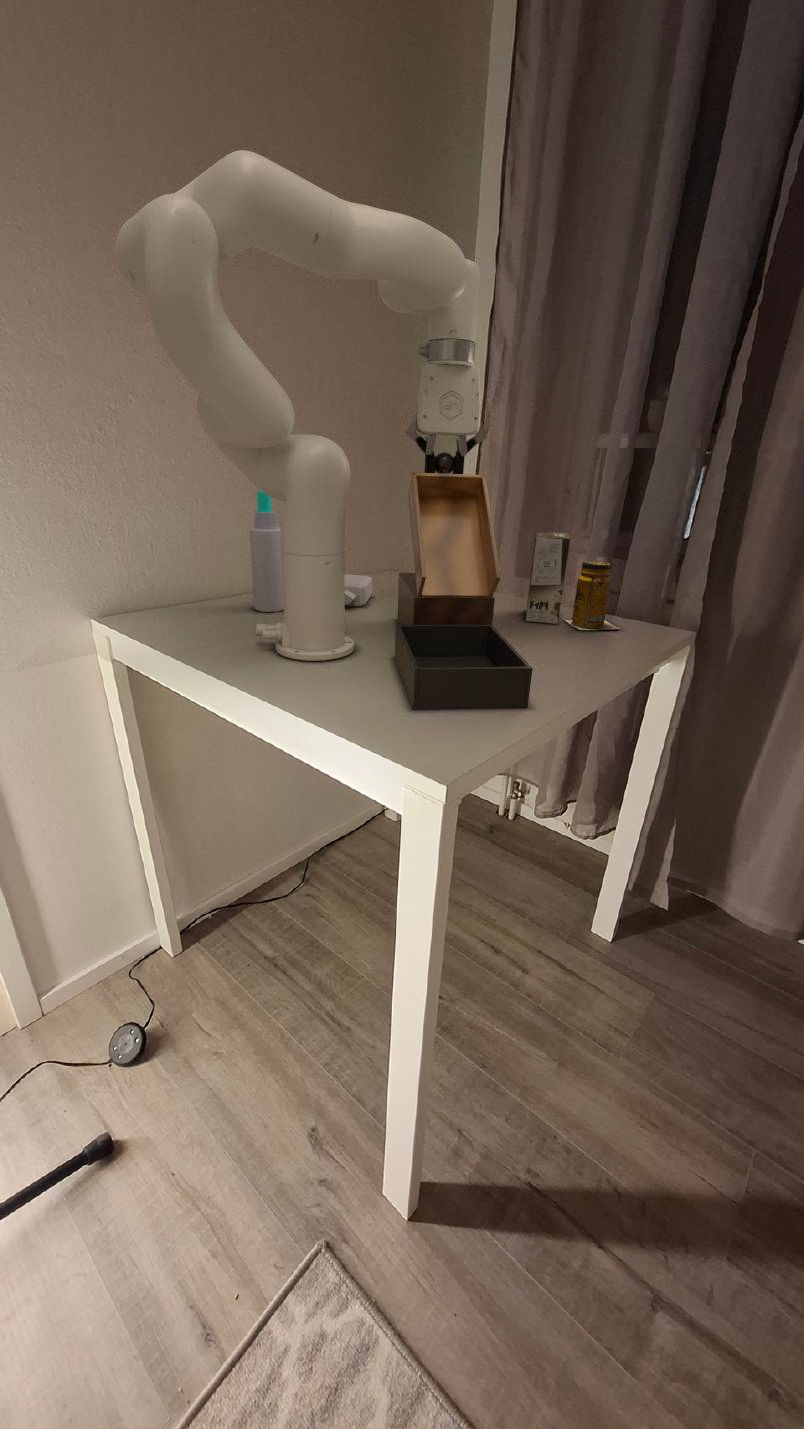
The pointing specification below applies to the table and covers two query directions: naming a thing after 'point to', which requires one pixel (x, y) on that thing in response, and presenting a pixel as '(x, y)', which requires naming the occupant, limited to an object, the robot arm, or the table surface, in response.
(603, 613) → the condiment
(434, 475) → the pour box
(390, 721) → the table surface
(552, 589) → the coffee box
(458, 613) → the stand
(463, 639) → the basket
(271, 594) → the spray bottle
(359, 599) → the charger
